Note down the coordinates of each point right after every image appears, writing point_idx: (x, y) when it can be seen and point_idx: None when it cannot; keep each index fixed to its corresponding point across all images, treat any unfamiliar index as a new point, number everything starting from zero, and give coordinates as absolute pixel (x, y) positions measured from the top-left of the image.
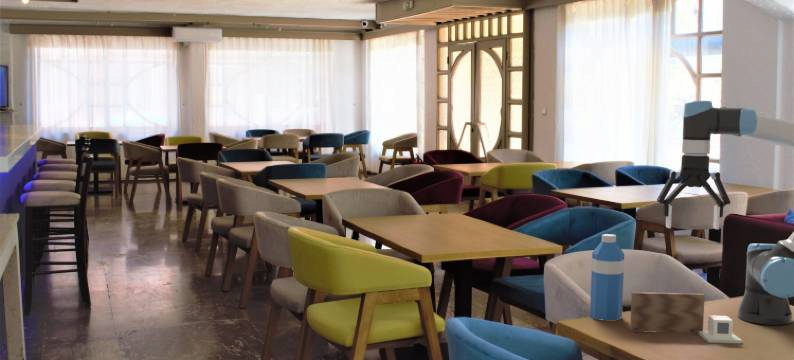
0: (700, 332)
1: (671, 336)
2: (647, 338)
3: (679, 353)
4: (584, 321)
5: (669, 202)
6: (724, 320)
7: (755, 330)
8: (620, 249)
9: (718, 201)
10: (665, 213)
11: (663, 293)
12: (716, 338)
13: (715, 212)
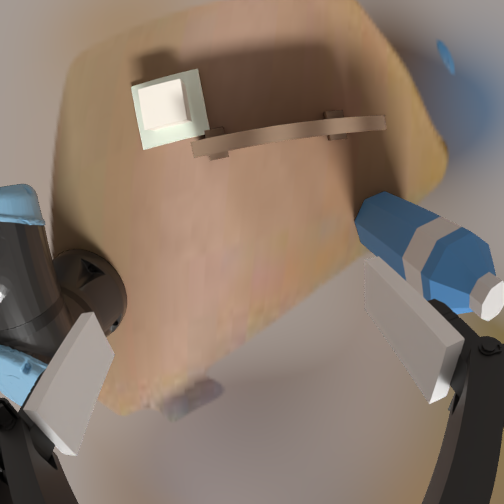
0: (207, 120)
1: (269, 96)
2: (319, 72)
3: None
4: (418, 179)
5: (479, 361)
6: (156, 84)
7: (97, 201)
8: (447, 281)
9: (17, 444)
10: (442, 309)
11: (308, 126)
12: None
13: (71, 400)
